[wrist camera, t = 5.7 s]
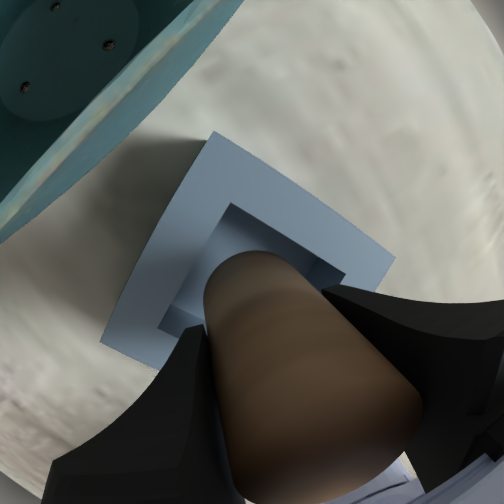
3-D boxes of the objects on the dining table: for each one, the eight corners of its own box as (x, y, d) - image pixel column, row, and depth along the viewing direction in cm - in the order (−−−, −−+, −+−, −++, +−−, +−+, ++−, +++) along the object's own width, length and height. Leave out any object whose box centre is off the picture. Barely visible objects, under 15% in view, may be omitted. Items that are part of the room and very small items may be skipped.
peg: (305, 329, 13) (406, 467, 6) (214, 351, 13) (251, 522, 5) (295, 240, 12) (437, 345, 5) (192, 262, 12) (207, 422, 4)
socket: (264, 371, 18) (282, 414, 15) (116, 303, 16) (99, 341, 12) (355, 238, 17) (395, 257, 14) (207, 140, 14) (213, 130, 11)
